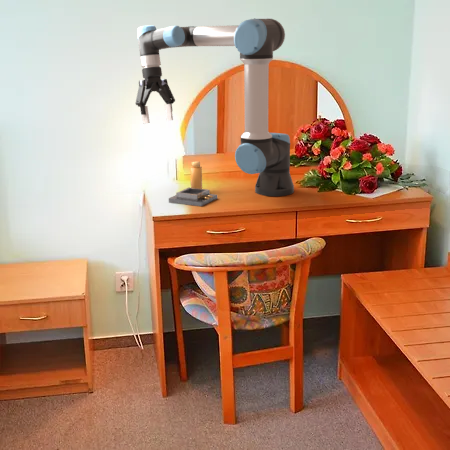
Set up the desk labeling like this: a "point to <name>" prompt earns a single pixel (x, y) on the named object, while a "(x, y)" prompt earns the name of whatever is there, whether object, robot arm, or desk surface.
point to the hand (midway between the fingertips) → (158, 121)
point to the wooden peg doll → (196, 175)
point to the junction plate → (193, 197)
